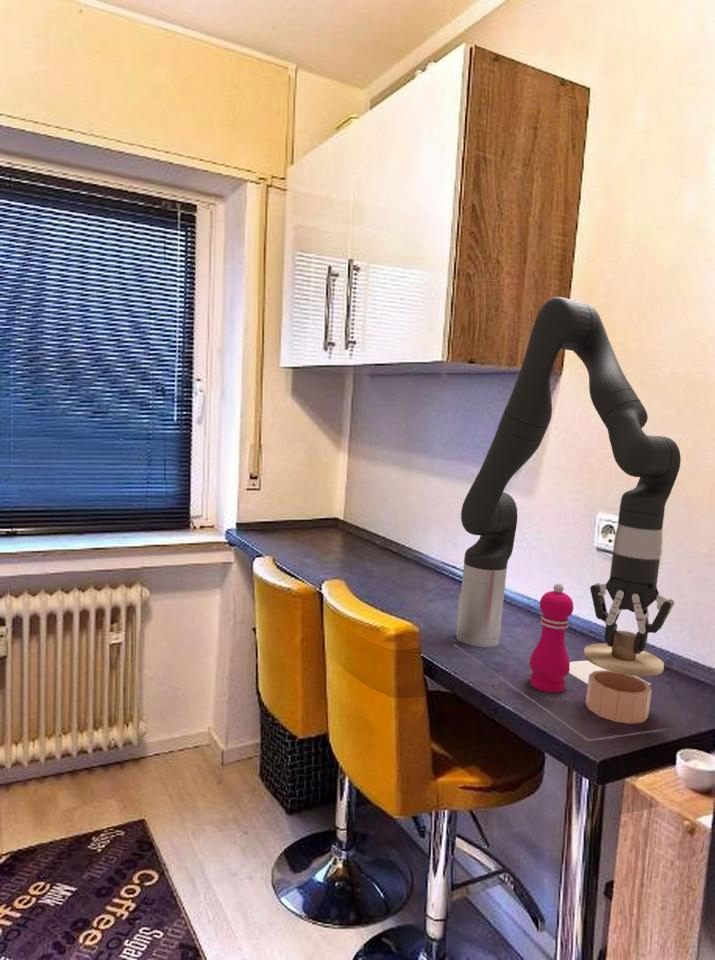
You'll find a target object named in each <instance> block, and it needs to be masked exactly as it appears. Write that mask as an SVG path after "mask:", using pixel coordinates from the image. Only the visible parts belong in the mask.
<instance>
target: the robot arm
mask: <svg viewBox="0 0 715 960" xmlns="http://www.w3.org/2000/svg"><path fill="white" fill-rule="evenodd" d="M561 350H566V351H572V352H573V353H574V354H575V355H576V356H577V357H578V358H579V359H580V360H581V362H582V363H583V364H584V366H585V368H586V370H587V373H588V380H589V381H588V390H589V397H590V399H591V403H592V405H593V406H594V409H595V410H596V412H597V414H598V415H599V418H600V420H601V421H602V423H603V424H604V426H605V428H606V429H607V432H608V439H609V444H610V447H611V451H612V455H613V458H614V461H615V463H616V464H617V465H618V467H619V468H620V469H621V470H622V472H623V473H625V474H626V475H628V476H630V477H634V478H638V479H639V480H638V482H637V483H636V486H635V487H634V488H632V489H630V490H628V491H625V492H624V493H622V496H621V499H620V503H619V512H618V521H617V526H616V530H615V534H614V539H613V546H612V547H613V548H612V558H611V566H610V572H609V573H610V574H609V578H608V581H607V582H606V583H600V582H597V583H595V584H593V585H591V586H590V588H589V590H590V594H591V599H592V605H593V608H594V613H595V617H596V618H597V619H598V620H601V621H603V622H604V623H605V631H604V633H605V634H604V642H606V643H607V646H610V647H612V644H613V635H614V632H615V631H618V623H617V621H618V619H619V617H620V615H621V612H622V611H624V610H628V611H630V612H632V613H634V615H635V616H634V617H635V620H636V622H637V623H636V624H637V628H638V629H637V630H638V631H637V632H636V633H635V634H636V641H635V649H634V653H636V654H640V653H641V652H643V651H646V648H647V644H648V636H649V633H650V634H651V633H652V634H656V633H657V632H658V631H660V630H661V629H662V627H663V625H664V624H665V622H666V620H667V618H668V616H669V614H670V612H671V611H672V609H673V607H674V606H675V602H674V600H673V599H667V598H665V597H664V596H661V595H660V592H659V590H658V587H657V586H658V576H659V569H660V563H661V561H660V560H661V556H662V550H663V549H662V546H663V527H664V517H665V508H666V504H667V501H668V499H669V497H670V495H671V492H672V490H673V488H674V485H675V482H676V480H677V477H678V474H679V472H680V467H681V458H682V457H681V452H680V447H679V446H678V444H677V442H676V441H674V439H672V438H670V437H667V436H663V435H662V436H661V435H659V436H658V435H647V434H646V433H645V432H644V430H643V429H642V428H644V426H646V424H647V422H648V413H647V410H646V408H645V406H644V405H643V403H642V401H641V400H640V398H639V397H638V395H637V393H636V392H635V390H634V389H633V387H632V386H631V384H630V382H629V381H628V379H627V377H626V375H625V373H624V371H623V370H622V368H621V366H620V363H619V362H618V359H617V357H616V354H615V351H614V349H613V347H612V345H611V341H610V340H609V337H608V334H607V331H606V328H605V326H604V324H603V321H602V319H601V317H600V314H599V313H598V311H597V309H596V308H594V306H592V305H590V304H589V303H585V302H582V301H577V300H576V299H570V298H566V297H563V296H554V297H551V298H550V299H548V300H547V301H545V303H543V305H542V306H541V308H540V310H539V312H538V313H537V316H536V318H535V320H534V324H533V326H532V330H531V333H530V336H529V340H528V344H527V347H526V352H525V354H524V358H523V362H522V365H521V367H520V370H519V373H518V376H517V378H516V380H515V384H514V386H513V389H512V391H511V395H510V397H509V399H508V401H507V404H506V406H505V408H504V410H503V412H502V415H501V417H500V420H499V423H498V426H497V429H496V432H495V434H494V437H493V440H492V442H491V444H490V447H489V449H488V451H487V454H486V455H485V458H484V461H483V463H482V465H481V468H480V469H479V472H478V473H477V475H476V477H475V478H474V481H473V483H472V485H471V487H470V489H469V490H468V492H467V494H466V496H465V499H464V500H463V504H462V505H461V511H460V512H461V513H460V516H461V517H460V519H461V524H462V526H463V529H464V530H465V532H467V533H469V534H471V535H473V536H480V537H479V538H478V540H477V541H476V542H475V543H474V544H473V545H472V546H470V547H468V548H467V549H466V550H465V552H464V561H463V562H464V563H463V569H462V570H463V571H462V582H461V589H460V590H461V591H460V593H459V595H458V604H457V611H456V612H457V615H456V624H455V632H454V633H455V635H456V640H457V641H458V642H460V643H463V644H465V645H469V646H472V647H477V648H493V647H496V646H498V645H499V643H500V635H501V627H502V626H501V625H502V617H503V608H504V598H505V592H506V591H505V588H506V581H507V569H508V562H509V560H510V557H511V556H512V554H513V551H514V550H513V549H514V544H515V538H516V531H517V524H518V509H517V504H516V501H515V500H514V498H513V496H511V495H510V493H509V494H508V493H507V492H504V491H505V489H506V487H507V485H508V484H509V482H510V481H511V479H512V477H513V476H514V475H516V473H517V472H518V471H519V470H520V469H521V468H522V467H523V466H524V465H525V464H526V463H527V462H528V461H529V460H530V459H531V458H532V457H533V456H534V454H535V453H536V452H537V450H538V449H539V447H540V445H541V443H542V442H543V439H544V437H545V434H546V432H547V430H548V428H549V425H550V422H551V420H552V415H553V414H552V413H553V404H552V402H553V401H552V394H551V392H552V391H551V376H552V371H553V368H554V365H555V362H556V360H557V357H558V355H559V353H560V351H561ZM607 592H608V595H609V596H610V598H611V599H612V604H611V606H610V607H609V610H607V606H606V600H605V596H606V594H607ZM654 602H656V609H657V610H658V613H657V614H656V616H655V618H654V619H653V620H652V623H650V621H649V616H650V615H649V606H651V605H652V604H653V603H654ZM608 611H609V612H608Z"/></svg>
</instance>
